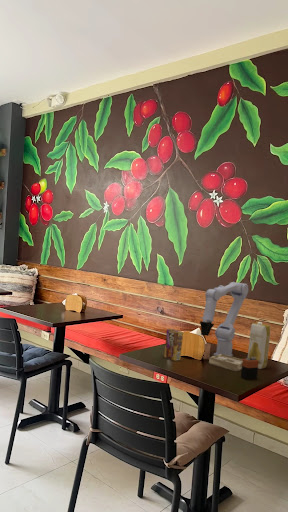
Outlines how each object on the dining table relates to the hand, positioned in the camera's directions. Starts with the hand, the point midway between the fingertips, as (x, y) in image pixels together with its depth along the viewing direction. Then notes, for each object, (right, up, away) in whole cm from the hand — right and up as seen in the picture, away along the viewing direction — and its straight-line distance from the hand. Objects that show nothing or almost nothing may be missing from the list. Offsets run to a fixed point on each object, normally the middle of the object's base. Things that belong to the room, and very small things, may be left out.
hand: (204, 335), depth 229 cm
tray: (+11, -14, -8) cm, 20 cm away
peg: (+1, -13, +3) cm, 14 cm away
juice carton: (+27, -16, -4) cm, 32 cm away
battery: (+17, -16, -27) cm, 36 cm away
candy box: (-18, -12, -4) cm, 22 cm away
